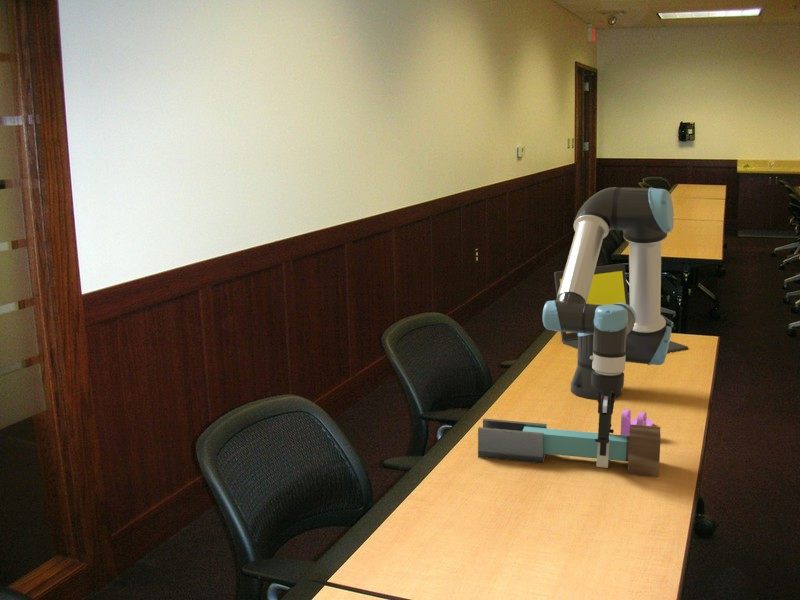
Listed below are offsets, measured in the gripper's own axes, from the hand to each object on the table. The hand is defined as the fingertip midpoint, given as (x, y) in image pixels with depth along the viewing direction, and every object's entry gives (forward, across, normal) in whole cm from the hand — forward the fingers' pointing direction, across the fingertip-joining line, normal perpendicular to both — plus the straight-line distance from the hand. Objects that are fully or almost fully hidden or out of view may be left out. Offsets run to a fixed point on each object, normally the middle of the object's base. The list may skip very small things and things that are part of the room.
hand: (602, 462), depth 202 cm
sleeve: (+1, 0, -22) cm, 22 cm away
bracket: (+1, -25, +8) cm, 26 cm away
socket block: (0, 0, +9) cm, 9 cm away
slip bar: (-2, 0, -6) cm, 7 cm away
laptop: (+1, -109, -2) cm, 109 cm away
